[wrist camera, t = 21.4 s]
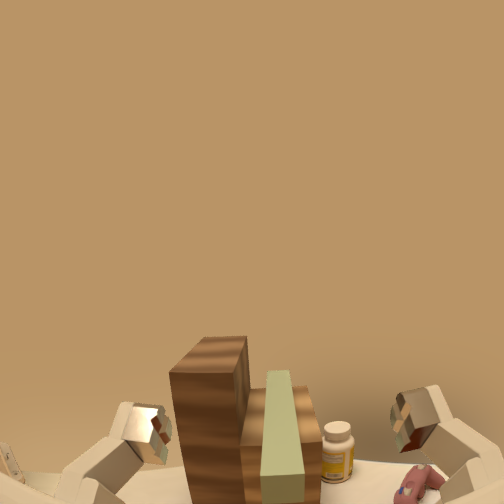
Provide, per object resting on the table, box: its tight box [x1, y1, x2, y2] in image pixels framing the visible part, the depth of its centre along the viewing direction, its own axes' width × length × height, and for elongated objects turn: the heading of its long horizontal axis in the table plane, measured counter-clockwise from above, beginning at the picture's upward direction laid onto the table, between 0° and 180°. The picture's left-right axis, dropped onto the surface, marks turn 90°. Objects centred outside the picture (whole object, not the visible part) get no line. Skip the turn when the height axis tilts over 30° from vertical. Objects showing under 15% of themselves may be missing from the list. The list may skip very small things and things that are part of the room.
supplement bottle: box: [321, 421, 354, 483], centre depth 40 cm, size 5×5×10 cm
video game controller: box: [394, 464, 445, 504], centre depth 28 cm, size 10×5×7 cm, turn 136°
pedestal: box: [169, 336, 323, 504], centre depth 34 cm, size 16×14×25 cm
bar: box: [260, 370, 305, 504], centre depth 29 cm, size 24×3×3 cm, turn 176°
